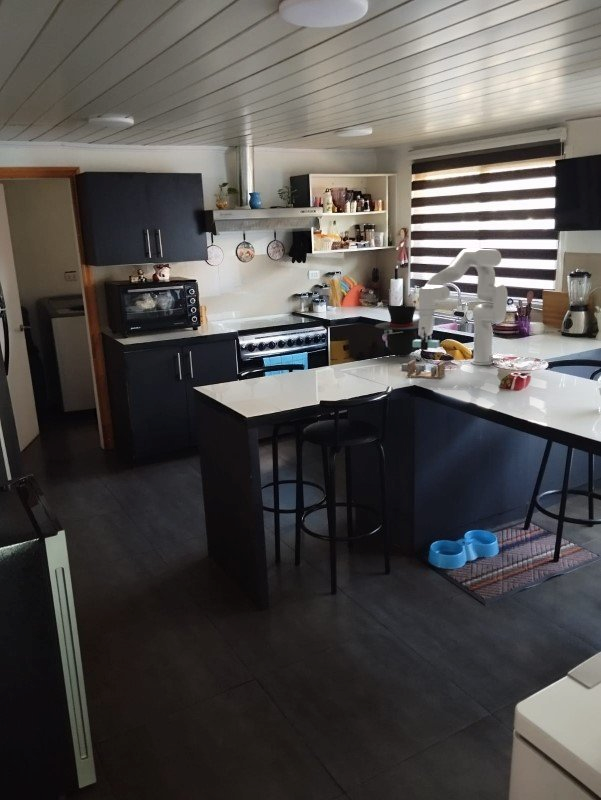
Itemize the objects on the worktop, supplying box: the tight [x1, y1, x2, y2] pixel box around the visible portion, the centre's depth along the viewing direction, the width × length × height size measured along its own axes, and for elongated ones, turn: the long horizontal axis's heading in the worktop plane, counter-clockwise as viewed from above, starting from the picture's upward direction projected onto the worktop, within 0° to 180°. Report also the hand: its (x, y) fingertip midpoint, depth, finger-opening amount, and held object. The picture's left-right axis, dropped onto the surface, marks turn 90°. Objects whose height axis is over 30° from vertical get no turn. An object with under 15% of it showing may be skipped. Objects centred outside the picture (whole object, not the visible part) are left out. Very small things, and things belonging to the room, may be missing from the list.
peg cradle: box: [406, 359, 446, 380], centre depth 313 cm, size 17×9×7 cm, turn 63°
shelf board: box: [413, 338, 441, 349], centre depth 309 cm, size 12×6×3 cm, turn 63°
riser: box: [401, 363, 427, 372], centre depth 327 cm, size 12×3×3 cm, turn 63°
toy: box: [374, 305, 419, 357], centre depth 362 cm, size 31×31×30 cm
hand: (426, 348), depth 310 cm, fingers closed on shelf board, 5 cm apart
